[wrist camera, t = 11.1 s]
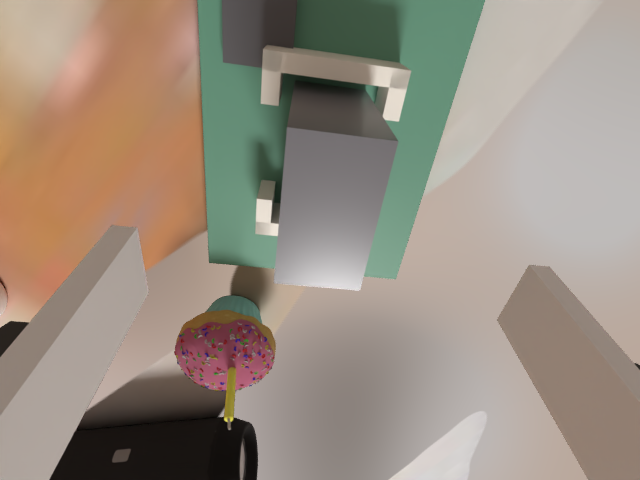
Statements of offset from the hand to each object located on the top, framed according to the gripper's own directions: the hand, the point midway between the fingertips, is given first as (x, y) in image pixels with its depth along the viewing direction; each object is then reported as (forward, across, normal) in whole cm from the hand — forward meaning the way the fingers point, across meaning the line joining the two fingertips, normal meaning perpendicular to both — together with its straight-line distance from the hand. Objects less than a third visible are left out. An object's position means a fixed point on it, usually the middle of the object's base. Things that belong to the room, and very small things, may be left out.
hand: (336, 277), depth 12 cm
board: (+16, 0, -1) cm, 16 cm away
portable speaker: (+16, -16, -40) cm, 46 cm away
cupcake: (+16, -6, -19) cm, 25 cm away
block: (+15, 0, -1) cm, 15 cm away
